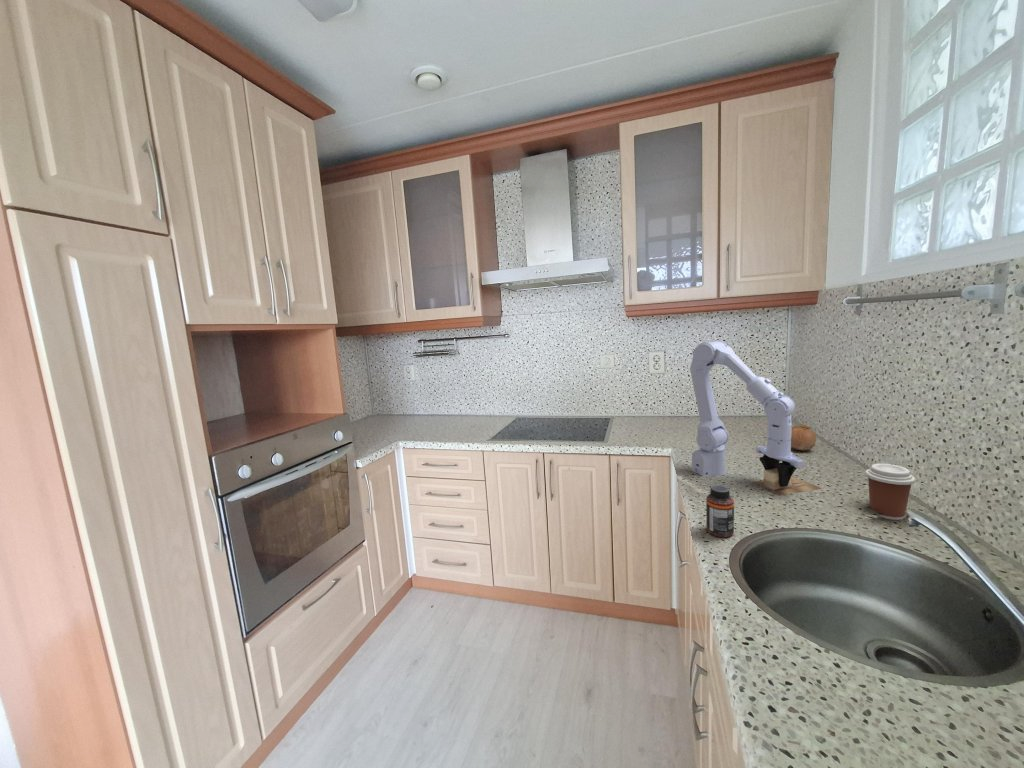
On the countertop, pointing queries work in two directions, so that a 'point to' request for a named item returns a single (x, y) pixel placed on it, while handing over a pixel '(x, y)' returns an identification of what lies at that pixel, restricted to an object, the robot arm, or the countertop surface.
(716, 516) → the supplement bottle
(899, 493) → the coffee cup
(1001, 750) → the countertop surface
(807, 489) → the board
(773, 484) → the block
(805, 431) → the onion
